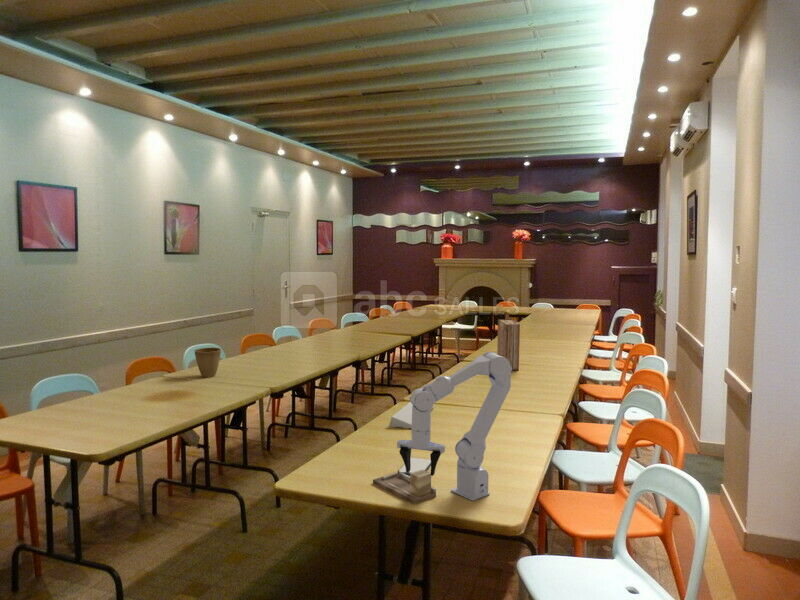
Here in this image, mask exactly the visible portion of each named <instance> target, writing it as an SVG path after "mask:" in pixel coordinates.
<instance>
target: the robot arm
mask: <svg viewBox="0 0 800 600" xmlns="http://www.w3.org/2000/svg"><path fill="white" fill-rule="evenodd" d="M512 371H513V370H512V367H511V365H510V363H509V361H508V360H507V359H506V358H505V357H502V356H499V355H497V353H495V352H493V351H487V352H485V353H483V354H481V355H478V356H477V357H476V358H475V359H473V360H471V362H470V363H467V365H464V366H463V367H461V368H459V370H457V371H456V372H454V373H453V374H451V375H450V376H446V375H442V376H440V375H438V376H436V377H435V380H433V381H431V382H430V383H428V384H427V385H426V384H424V385H422V388H415V389H414V390H413V391H412V393H411V394H410V397H409V403H410V402H411V403H412V404H413V406H412V429H411V439H398V440H397V441H396V447H397V449H399V451H398V452H399V455H400V456H401V459H402V460H403V463H404V464H405V468H406V472H407V473H409V471H410V468H411V463H410V458H412V457H411V456H412V449H413V450H419V451H429V452H430V454H429V455H430V460H431V467H430V473H431V477H433V476H434V475H435V473H436V467H437V464H438V462H439V459H440V456H441V455H442V454H444V453H445V452H446V444H440V443H436V442H433V441H431V432H432V431H431V428H432V427H431V425H432V424H431V423H432V421H431V420H432V414H431V411H432V410H431V408H432V407H433V405H435V404H436V403H437V402H439V401H440V400H442V399H444V398H446V397H448V395H451V394H452V393H453V392H454V389H455V387H456V386H458V385H460V384H462V383H464V382H466V381H468V380H470V379H472V378H473V377H475V376H477V375H480V376H487V377H488V378H489V381H490V383H491V386H490V389H489V390H488V392H487V395H486V397H485V399H484V401H483V403H482V405H481V407H480V409H479V411H478V413H477V415H476V417H475V419H474V421H473V423H472V425H471V427H470V429H469V430H468V431H467V432H465V433H464V434H463V436H462V437H461V439H459V440H458V441H457V442H456V444H455V446H454V447H455V448H454V452H455V454H456V455H457V456H458V458H457V462H456V463H457V464H456V466H457V467H456V487H454V488H451V489H450V491H451V492H452V493H455V494H457V495H459V496H461V497H464V498H466V499H467V500H470V501H473V502H474V501H476V500H478V499H481V498H484V497H486V496H489V495H491V493H490V492H489V473H488V471H487V470H486V469H485V468H484V467H482V464H483V461H484V457H485V456H484V455H485V451H486V448H487V444H486V443H487V442H486V439H487V437H488V434H489V433H490V430H491V428H492V427H493V425H494V423H495V420H496V419H497V416H498V414H499V412H500V410H501V408H502V406H503V404H504V402H505V400H506V398H507V396H508V394H509V391H510V390H511V386H512V385H511V380H512V379H511V378H512V376H511V374H512ZM433 408H434V407H433ZM404 464H403V465H404Z"/></svg>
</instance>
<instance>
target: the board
mask: <svg viewBox="0 0 800 600" xmlns="http://www.w3.org/2000/svg"><path fill="white" fill-rule="evenodd" d="M372 484H374V485H375V484H376V485H375V486H377V485H378V487H379V488H382V490H383V489H384V490H385V491H387V492H389V493H391V494H392V495H395V496H397V497H399V498H400V499H403V500H405V501H406V502H408V503H411V505H415V504H418V503H422V502H424V501H427V500H430V499H432V498H435V497H437V488H435V487H433V486H431V493H428V494H425V495H422V496H419V497H418V496H416V495H414V494H412V493H410V476H408V475H406V474H404V473H401V472H399V475H398V472H392V473H389V474H386V475H382V476H381V477H377V478H373V479H372Z"/></svg>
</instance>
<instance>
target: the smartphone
mask: <svg viewBox="0 0 800 600" xmlns="http://www.w3.org/2000/svg"><path fill="white" fill-rule="evenodd" d="M410 463H411V468H410V471H409V473H407V472H406V468H405V464H403V465H402V466H401V467H400V468H399V469H398V470H397V473H398V475H399V472H401V473H404V474H406V475H408V476H410V473H413V472H416V471H419V470H425V471H427V470H428V471H429V470H430V469H431V467H430V466H431V458H430V459H428V458H421V457H411V458H410ZM428 471H427V472H428Z"/></svg>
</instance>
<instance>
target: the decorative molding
mask: <svg viewBox="0 0 800 600" xmlns="http://www.w3.org/2000/svg"><path fill="white" fill-rule="evenodd" d="M412 406H413V404H412V403H411V402H410V401H409V402H408V403H407V404H405V405H404V406H403V407H402V408H401V409H400V410H398V411H397V412H396V413H394V414H393V415H392V416H391V418H390V422H389V424H388V425H389V426H390V427H389V426H388V427H389V428H402V429H409V428H411V429H410V430H412ZM434 407H435V404H433V407H432V408H431V411H433V409H434Z"/></svg>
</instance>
